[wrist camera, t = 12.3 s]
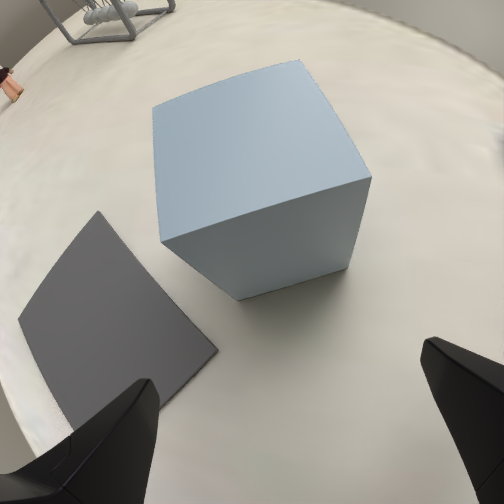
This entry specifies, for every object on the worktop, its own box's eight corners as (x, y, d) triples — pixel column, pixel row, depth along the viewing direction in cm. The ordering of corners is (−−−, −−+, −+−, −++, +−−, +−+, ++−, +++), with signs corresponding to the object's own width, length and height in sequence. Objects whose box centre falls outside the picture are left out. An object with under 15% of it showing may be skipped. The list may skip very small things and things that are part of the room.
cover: (348, 267, 18) (371, 176, 9) (237, 300, 19) (160, 241, 10) (312, 175, 21) (299, 59, 12) (216, 204, 22) (152, 107, 12)
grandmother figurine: (18, 100, 44) (-13, 67, 32) (8, 108, 44) (-23, 77, 33) (29, 81, 47) (1, 50, 35) (19, 89, 47) (-9, 59, 36)
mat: (218, 350, 18) (216, 349, 18) (101, 464, 16) (98, 465, 16) (100, 212, 24) (97, 210, 24) (20, 319, 23) (17, 319, 22)
